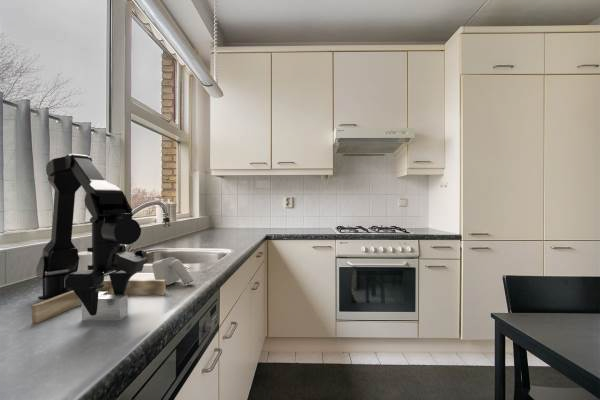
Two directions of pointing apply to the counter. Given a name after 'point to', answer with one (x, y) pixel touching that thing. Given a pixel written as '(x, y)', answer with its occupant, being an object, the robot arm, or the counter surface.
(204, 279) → the counter surface
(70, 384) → the counter surface
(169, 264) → the wall hook
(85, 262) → the white cup
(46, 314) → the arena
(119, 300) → the bracket
